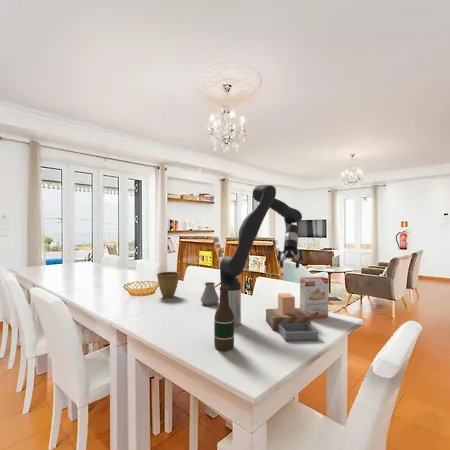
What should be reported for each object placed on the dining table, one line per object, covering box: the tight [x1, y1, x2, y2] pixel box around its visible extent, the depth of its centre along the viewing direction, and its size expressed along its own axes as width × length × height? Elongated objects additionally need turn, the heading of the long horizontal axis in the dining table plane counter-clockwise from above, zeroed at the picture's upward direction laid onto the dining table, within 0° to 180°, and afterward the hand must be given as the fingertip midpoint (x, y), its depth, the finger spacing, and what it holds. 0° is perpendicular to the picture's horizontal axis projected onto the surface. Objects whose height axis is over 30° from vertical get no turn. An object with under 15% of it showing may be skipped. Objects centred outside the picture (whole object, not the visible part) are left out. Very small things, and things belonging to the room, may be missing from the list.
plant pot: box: [156, 271, 180, 299], centre depth 195 cm, size 15×15×16 cm
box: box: [277, 323, 319, 342], centre depth 125 cm, size 14×12×4 cm
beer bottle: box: [213, 285, 235, 352], centre depth 113 cm, size 8×8×24 cm
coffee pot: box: [200, 281, 222, 306], centre depth 180 cm, size 21×12×15 cm, turn 125°
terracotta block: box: [277, 292, 296, 314], centre depth 141 cm, size 6×8×8 cm
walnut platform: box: [265, 307, 312, 332], centre depth 139 cm, size 18×14×6 cm
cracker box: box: [299, 276, 330, 320], centre depth 152 cm, size 14×6×21 cm, turn 105°
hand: (289, 268), depth 158 cm, fingers open, 8 cm apart
